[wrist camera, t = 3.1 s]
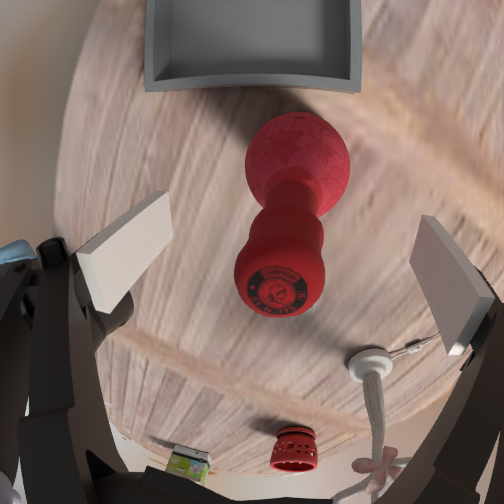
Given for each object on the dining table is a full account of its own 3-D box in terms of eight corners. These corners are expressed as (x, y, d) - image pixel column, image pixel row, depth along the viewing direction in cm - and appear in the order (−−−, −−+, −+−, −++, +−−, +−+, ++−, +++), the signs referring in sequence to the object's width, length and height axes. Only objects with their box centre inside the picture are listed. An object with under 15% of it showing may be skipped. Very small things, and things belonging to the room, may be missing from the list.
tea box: (209, 452, 94) (200, 482, 82) (212, 459, 99) (203, 487, 87) (174, 443, 96) (164, 472, 84) (179, 451, 102) (169, 478, 89)
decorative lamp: (432, 292, 42) (495, 527, 8) (447, 364, 49) (475, 528, 15) (292, 346, 53) (256, 559, 19) (337, 402, 61) (324, 558, 27)
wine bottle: (256, 173, 38) (149, 345, 12) (270, 102, 33) (144, 117, 7) (327, 191, 37) (353, 394, 12) (346, 121, 32) (468, 198, 7)
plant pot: (268, 434, 75) (261, 467, 65) (289, 419, 68) (283, 457, 58) (304, 443, 76) (300, 475, 66) (328, 430, 69) (326, 466, 59)
